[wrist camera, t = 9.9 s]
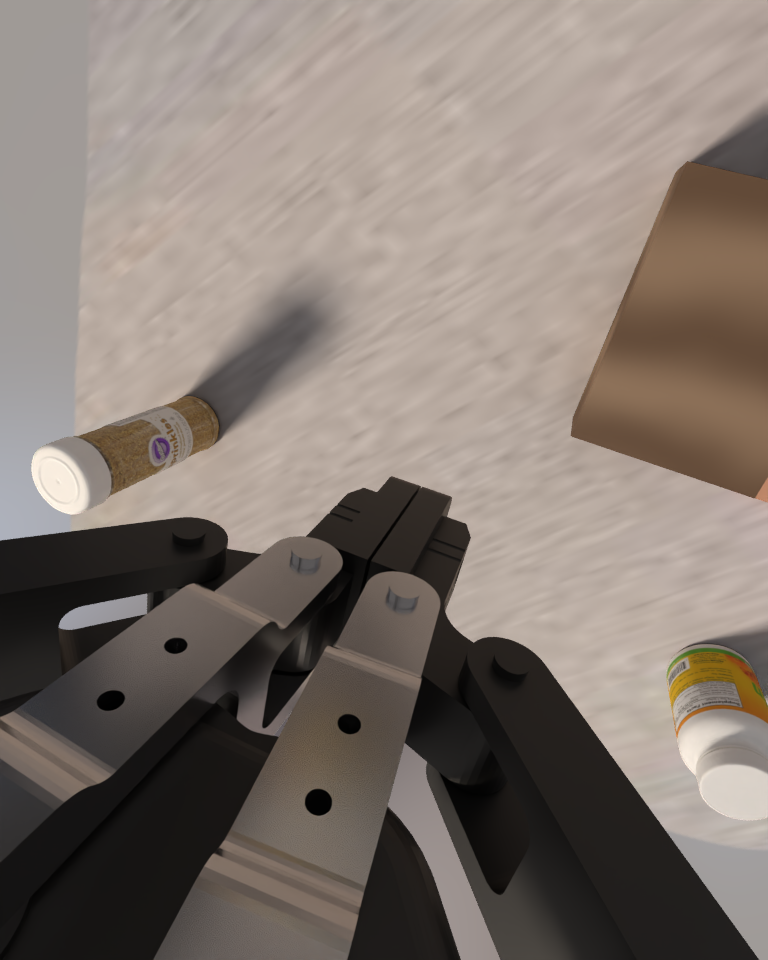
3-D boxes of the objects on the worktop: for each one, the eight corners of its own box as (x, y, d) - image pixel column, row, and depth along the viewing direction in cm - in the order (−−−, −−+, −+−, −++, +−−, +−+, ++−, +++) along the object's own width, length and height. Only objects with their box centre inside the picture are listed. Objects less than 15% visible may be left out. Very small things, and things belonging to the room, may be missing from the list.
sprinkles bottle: (229, 442, 45) (100, 511, 33) (186, 453, 47) (49, 521, 35) (208, 388, 44) (66, 438, 32) (164, 401, 45) (15, 453, 34)
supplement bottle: (760, 703, 38) (809, 833, 30) (673, 707, 40) (695, 829, 32) (746, 637, 37) (793, 753, 28) (657, 644, 39) (675, 754, 31)
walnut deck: (675, 172, 29) (687, 161, 26) (885, 221, 27) (929, 216, 24) (572, 417, 35) (570, 436, 32) (737, 472, 33) (754, 498, 30)
